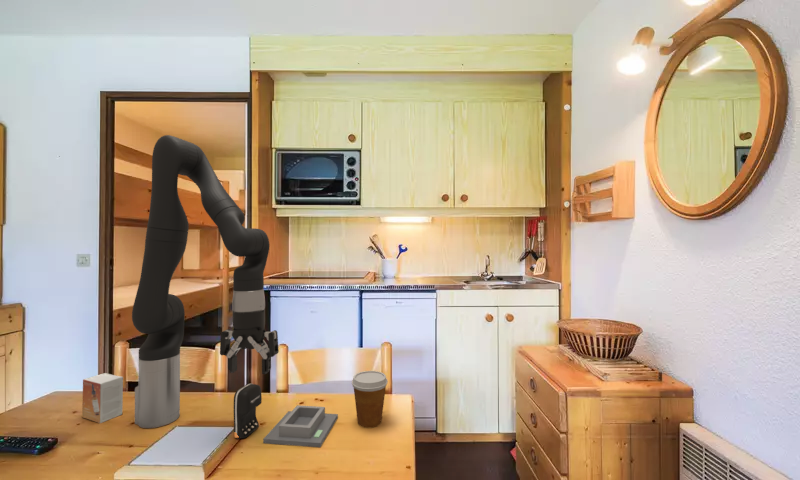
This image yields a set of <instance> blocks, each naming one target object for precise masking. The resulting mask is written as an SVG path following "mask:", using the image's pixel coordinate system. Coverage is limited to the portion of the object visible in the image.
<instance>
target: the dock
mask: <svg viewBox="0 0 800 480" xmlns="http://www.w3.org/2000/svg"><path fill="white" fill-rule="evenodd" d="M338 418H339V414H337V413H326V407H325V406H317V405H316V406H313V405H296V406H295V407H294V408H293V410H289V411H287V412H286V413H285V414H284V415H283V417H282V418H281V419H280V420H279V421H278V422H277V423H276V424H275V425H274V426H273V428H272V429H271V430H270V431H269V432H268V433H267V434H266V436H264V438H263V441H262V442H263V443H262V444H269V445H270V444H272V445H283V446H285V445H286V446H295V447H296V446H297V447H298V446H299V447H309V448H310V447H311V448H321V447H322V446H323V443H324V442H325V440H326V439H327V437H328V435H329V434H330V431H332V428H333V427H334V425H335V424H336V422H337V420H338Z"/></svg>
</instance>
